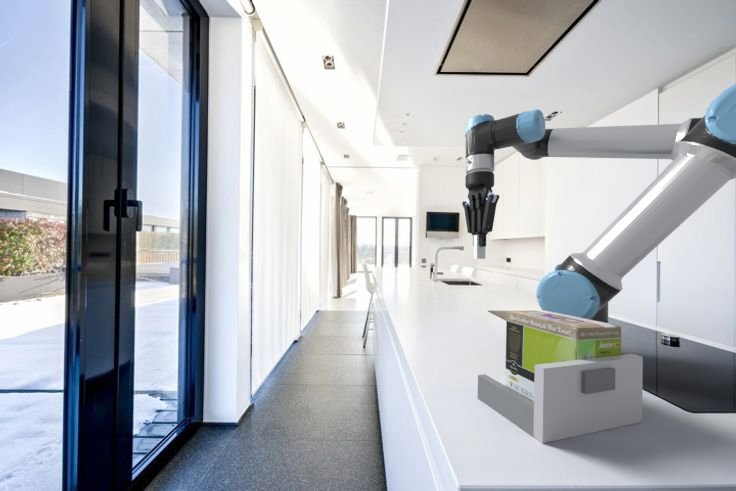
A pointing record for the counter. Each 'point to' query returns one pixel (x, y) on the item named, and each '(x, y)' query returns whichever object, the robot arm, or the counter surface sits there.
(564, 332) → the tea box
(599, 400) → the grey drawer
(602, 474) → the counter surface
